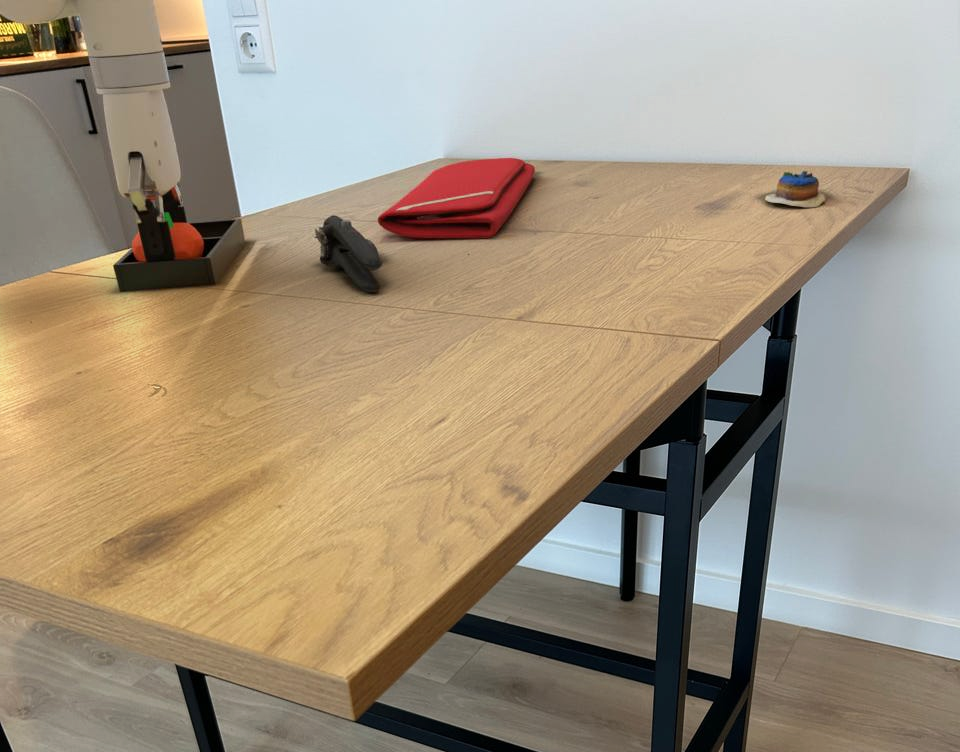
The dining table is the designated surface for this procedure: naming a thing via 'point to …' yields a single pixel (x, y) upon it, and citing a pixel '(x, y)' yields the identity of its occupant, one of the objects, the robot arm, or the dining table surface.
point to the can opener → (349, 252)
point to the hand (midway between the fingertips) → (169, 251)
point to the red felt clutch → (461, 200)
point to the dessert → (797, 190)
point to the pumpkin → (176, 241)
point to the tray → (185, 261)
